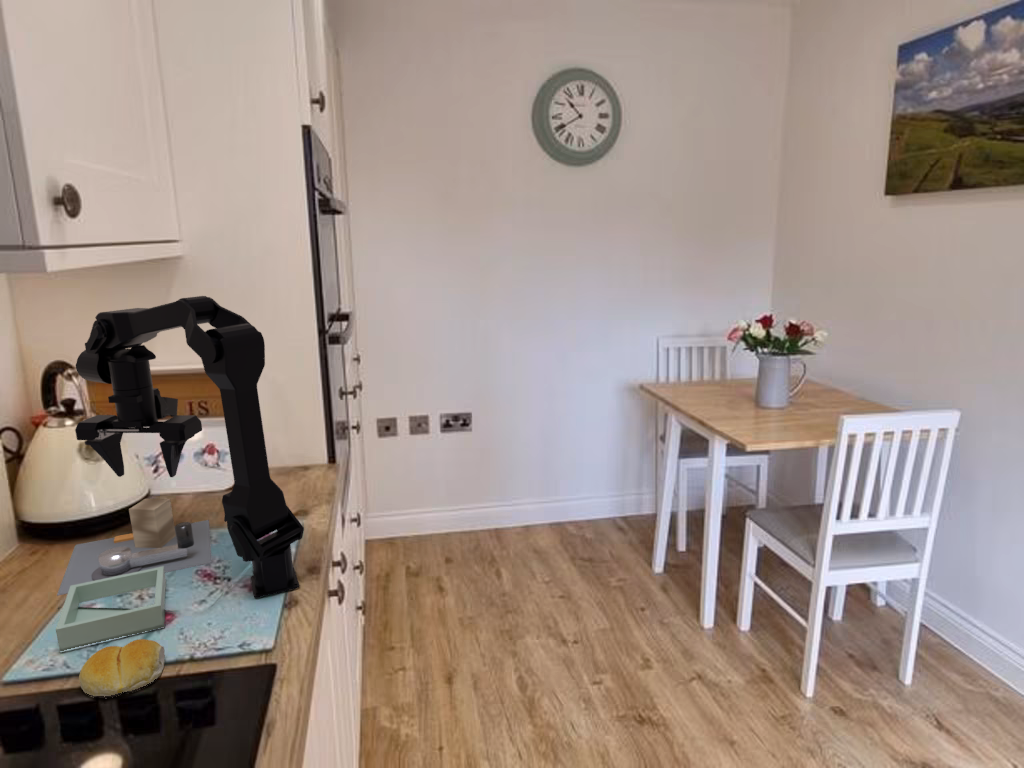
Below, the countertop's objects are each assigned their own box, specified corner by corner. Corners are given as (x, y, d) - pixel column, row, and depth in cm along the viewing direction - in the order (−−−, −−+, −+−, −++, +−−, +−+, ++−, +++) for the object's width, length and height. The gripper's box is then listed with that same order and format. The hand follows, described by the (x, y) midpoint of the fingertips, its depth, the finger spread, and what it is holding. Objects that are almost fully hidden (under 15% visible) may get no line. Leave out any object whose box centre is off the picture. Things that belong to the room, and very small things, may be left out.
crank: (99, 577, 100) (93, 547, 99) (102, 564, 104) (97, 536, 103) (195, 557, 106) (191, 529, 105) (195, 546, 110) (191, 518, 109)
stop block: (175, 535, 115) (170, 498, 114) (160, 547, 111) (154, 509, 109) (151, 535, 116) (145, 498, 114) (135, 547, 111) (128, 509, 110)
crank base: (212, 568, 106) (211, 560, 105) (57, 601, 97) (56, 593, 97) (209, 524, 122) (208, 517, 121) (76, 550, 113) (74, 542, 113)
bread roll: (89, 667, 82) (83, 639, 82) (168, 650, 85) (164, 623, 85) (72, 711, 75) (66, 680, 74) (160, 690, 78) (155, 661, 77)
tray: (164, 628, 90) (160, 605, 89) (60, 653, 85) (55, 629, 84) (166, 586, 100) (163, 566, 100) (74, 607, 95) (70, 585, 95)
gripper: (213, 375, 114) (224, 460, 118) (112, 375, 116) (125, 459, 119) (176, 391, 103) (189, 483, 107) (65, 391, 105) (82, 482, 108)
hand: (147, 476), depth 111 cm, fingers open, 9 cm apart
